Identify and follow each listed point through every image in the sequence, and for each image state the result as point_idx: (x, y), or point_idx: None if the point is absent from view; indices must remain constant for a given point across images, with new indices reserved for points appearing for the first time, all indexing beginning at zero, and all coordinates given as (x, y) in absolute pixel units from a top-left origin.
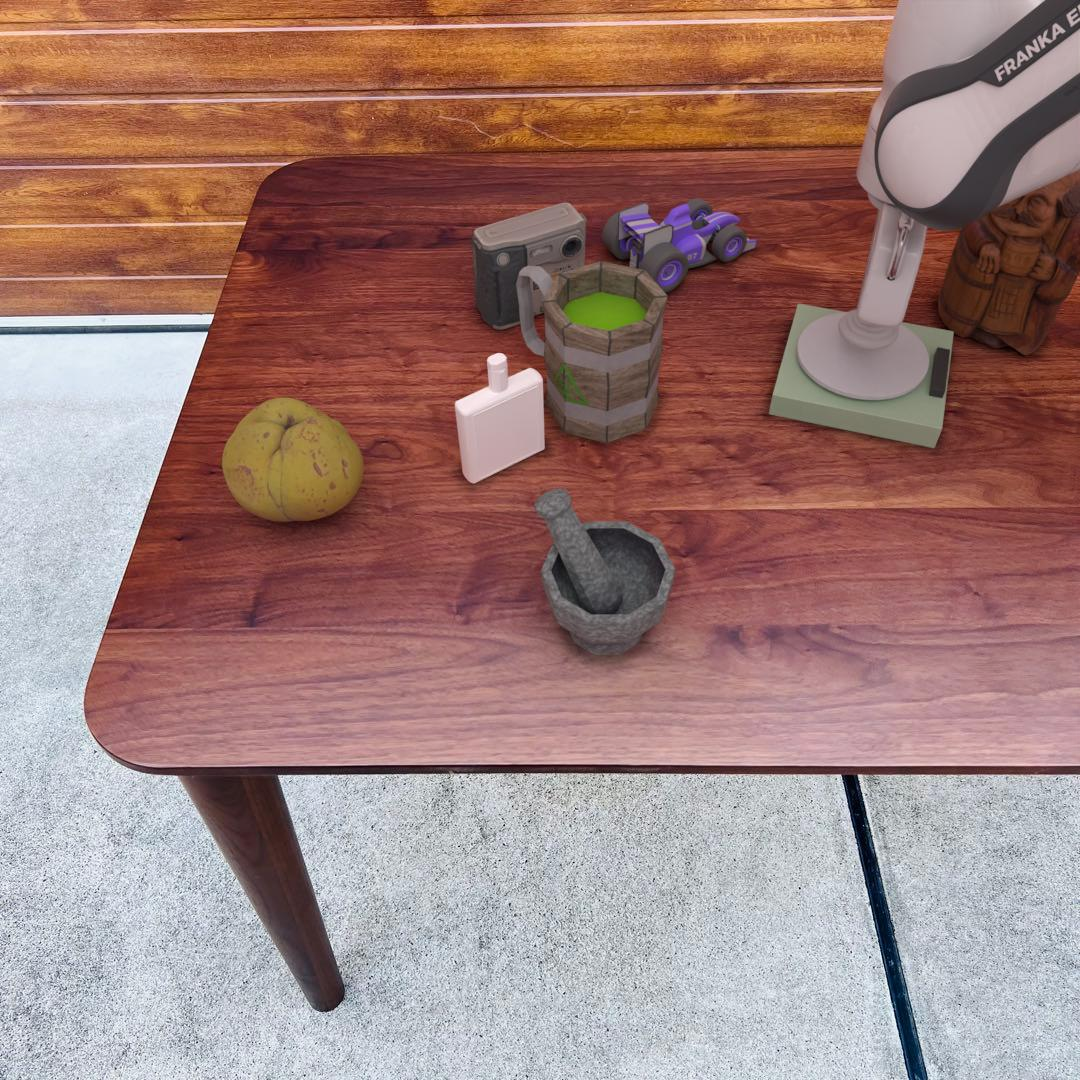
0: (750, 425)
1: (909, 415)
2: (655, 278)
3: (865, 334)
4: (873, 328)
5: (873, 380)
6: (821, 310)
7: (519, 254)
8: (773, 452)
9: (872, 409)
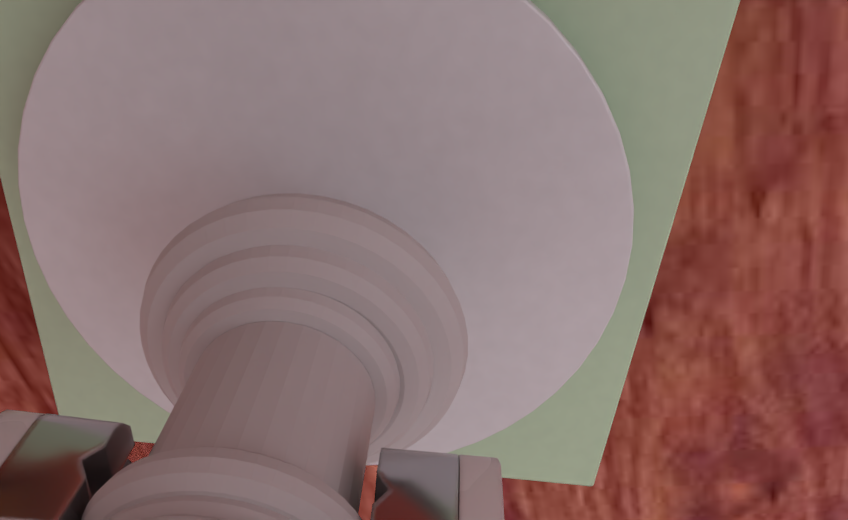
0: (632, 457)
1: (692, 4)
2: None
3: (423, 402)
4: (388, 388)
5: (519, 206)
6: (65, 365)
7: None
8: (753, 400)
9: (655, 175)
